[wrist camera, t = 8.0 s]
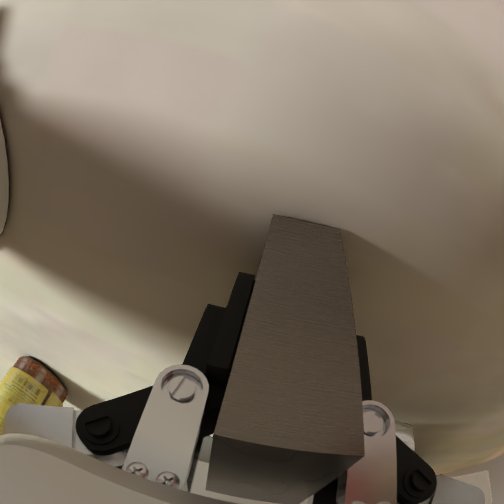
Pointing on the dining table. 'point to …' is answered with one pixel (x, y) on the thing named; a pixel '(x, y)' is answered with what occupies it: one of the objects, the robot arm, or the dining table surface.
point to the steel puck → (405, 434)
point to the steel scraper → (292, 374)
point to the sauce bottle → (29, 387)
